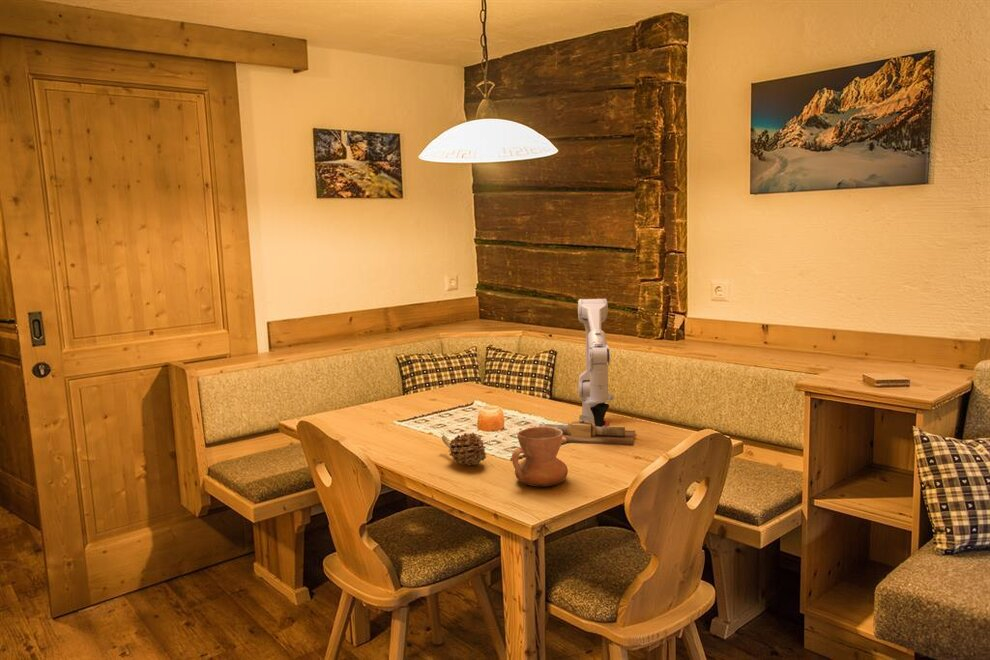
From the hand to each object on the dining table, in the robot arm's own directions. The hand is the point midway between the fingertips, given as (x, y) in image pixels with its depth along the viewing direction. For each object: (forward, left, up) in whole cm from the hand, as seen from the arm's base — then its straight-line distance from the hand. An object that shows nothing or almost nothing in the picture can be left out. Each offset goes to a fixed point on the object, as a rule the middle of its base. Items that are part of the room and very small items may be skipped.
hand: (599, 426), depth 237 cm
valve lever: (-3, -2, 0) cm, 4 cm away
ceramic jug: (+38, -13, -6) cm, 41 cm away
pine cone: (+25, -39, -6) cm, 47 cm away
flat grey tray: (-6, -6, -6) cm, 10 cm away
